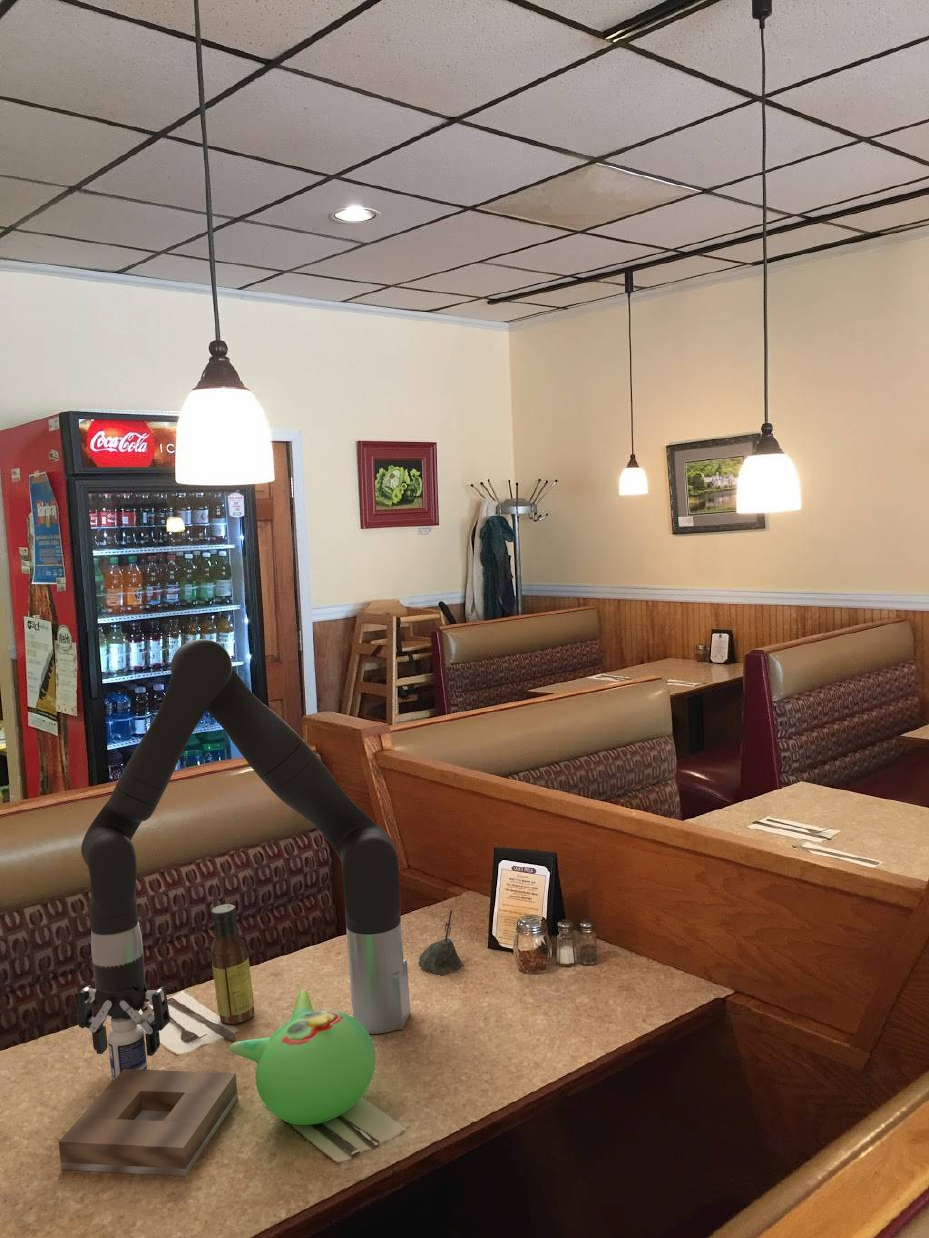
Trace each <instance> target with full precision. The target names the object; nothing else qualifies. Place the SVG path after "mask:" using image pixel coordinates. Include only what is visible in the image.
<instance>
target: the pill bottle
mask: <svg viewBox="0 0 929 1238" xmlns="http://www.w3.org/2000/svg"><path fill="white" fill-rule="evenodd" d="M110 1018H111V1017H110ZM110 1027H111V1030H110V1032H109V1033H108V1035H107V1044H108V1052H109V1053H108V1054H109V1064H110V1071H111V1072H110V1073H111V1078H112V1082H113V1081H114V1079H115V1078H116V1077H117V1076H118V1075H119V1074H120V1073H121V1072H122V1071H123V1069H137V1070H148V1062H147V1061H148V1060H147V1049H146V1039H145V1033H144V1031H145V1030H144V1029H143V1028H142V1027H141V1025H138V1024H136V1023H135V1022H134V1020H133V1019H132V1018H130V1019H124V1018H116V1019H113V1018H111V1019H110Z"/></svg>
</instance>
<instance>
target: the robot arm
mask: <svg viewBox="0 0 929 1238" xmlns="http://www.w3.org/2000/svg"><path fill="white" fill-rule="evenodd" d="M173 654H174V655H172V659H171V663H170V673H171V674H170V675H171V677H170V678H169V679H170V680H169V683H168V686H167V689H166V692H165V695H164V697H163V699H162V702H161V704H160V707H159V709H158V711H157V713H156V715H155V717H154V719H153V721H151V722H152V723H151V724H150V725H149V727H148V728H147V731H146V732H145V734H144V736H143V737H142V738H141V740H140V741H139V743H138V745H137V747H136V748H135V750H134V751H133V753H132V755H131V757H130V758H129V759H128V762H127V764H126V765H125V767H124V769H123V771H122V773H121V774H120V776H119V779H118V780H117V783H116V784H115V787H114V788H113V790H112V793H111V796H110V798H109V799H108V800H107V802H106V803H105V804H104V806H103V807H102V808H101V810H100V811H99V812H98V814H97V815H96V816H95V818H94V819H93V821H92V823H90V825H89V826H88V829H87V830H86V833H85V835H84V837H83V840H82V843H81V848H80V851H81V853H80V854H81V857H82V859H83V861H84V863H85V865H86V866H87V868H88V872H89V880H90V881H89V882H90V890H91V895H90V897H89V908H88V909H89V919H90V920H89V921H90V930H91V931H90V932H91V936H90V937H91V938H90V949H91V958H92V959H91V960H92V968H93V980H94V981H93V982H94V987H95V988H93V987H92V986H91V985H89V984H87V985H86V986H84V987H83V988H82V989H81V990H80V991H79V992H78V993H77V995H76V997H77V998H76V999H77V1013H78V1014H77V1020H78V1021H77V1023H78V1027H79V1028H80V1029H85V1028H87V1029H89V1031H90V1032H91V1036H92V1037H91V1038H92V1046H93V1050H94V1051H96V1054H97V1055H103V1054H105V1053H104V1052H106V1051H107V1049H108V1048H109V1046H108V1035H107V1026H106V1025H104V1024H105V1022H106V1021H107V1019H108V1017H110V1018H113V1019H116V1018H124V1019H130V1018H132V1019H133V1020H134V1022H135V1023H136V1024H138V1025H140V1026H141V1027H142V1028H143V1031H145V1032H146V1033H144V1039H145V1050H146V1056H148V1057H153V1056H154V1055H155V1054H156V1053H157V1051H158V1050H159V1049H160V1046H161V1042H160V1041H161V1040H160V1039H161V1038H160V1031H162V1030H164V1029H165V1027H166V1026H167V1025H168V1024H169V1023H170V1022H171V1018H170V1017H171V1016H170V1010H169V1002H168V996H167V989H166V988H165V986H159V988H158V989H148V988H147V986H146V969H145V957H144V946H143V936H142V932H141V931H142V930H141V927H140V923H139V922H140V921H139V912H138V903H137V897H136V887H137V866H138V865H137V855H136V850H135V846H134V845H133V842H132V839H133V837H134V836H135V833H136V832H137V830H138V829H139V827H140V825H141V824H142V822H145V821H147V820H149V819H150V818H151V816H153V814H154V813H155V810H156V809H157V806H158V804H159V803H160V801H161V799H162V796H163V795H164V793H165V790H166V789H167V787H168V785H169V782H170V780H171V778H172V777H173V774H174V772H175V770H176V768H177V766H178V763H179V761H180V759H181V757H182V755H183V752H184V751H185V748H186V746H187V745H188V742H189V740H190V738H191V736H192V734H193V732H195V730H196V727H197V726H198V724H199V722H200V721H201V719H202V718H203V716H204V714H205V713H206V712H207V713H208V714H209V715H210V716H211V717H212V718H213V719H214V720H215V721H216V722H217V723H218V724H219V725H220V726H221V728H222V729H223V730H224V732H225V733H226V734H227V736H228V737H229V739H230V741H231V742H232V744H234V746H235V748H236V749H237V750H238V751H239V753H240V754H241V755H242V756H241V757H243V759H244V760H245V761H246V762H247V764H248V765H249V766H250V767H251V769H252V770H253V771H254V773H255V774H256V775H257V776H258V777H259V778H260V780H262V782H263V783H264V784H265V785H266V786H267V787H268V788H269V789H270V791H271V792H272V793H274V794H275V795H276V797H277V798H279V799H280V800H281V801H282V802H283V803H284V804H286V805H287V806H288V807H290V808H291V809H292V810H294V811H295V812H297V813H298V814H299V815H300V816H302V817H304V819H306V820H308V821H309V822H310V823H311V824H312V825H314V826H315V827H316V829H318V831H319V832H320V833H321V834H322V835H323V837H324V838H325V839H326V840H327V842H328V843H329V844H330V846H331V847H332V849H333V850H334V851H335V853H336V854H337V856H338V858H339V860H340V861H341V868H342V869H341V870H342V879H343V881H342V882H343V893H344V894H343V895H344V906H345V907H344V916H345V926H346V927H345V928H346V944H347V956H348V971H349V981H350V982H349V983H350V993H351V996H350V997H351V1007H352V1011H351V1015H352V1017H353V1018H355V1019H356V1020H357V1021H359V1022H360V1023H361V1024H362V1025H363V1026H364V1027H365V1029H366V1030H367V1031H368V1033H369V1034H370V1035H371V1034H375V1035H376V1034H377V1035H378V1034H379V1035H380V1034H386V1033H390V1032H393V1031H401V1030H404V1028H405V1026H406V1023H407V1022H408V1019H409V1017H410V1014H411V1002H410V1001H411V1000H410V985H409V984H410V983H409V974H408V962H407V961H408V960H406V959H404V949H403V947H404V946H403V934H402V933H403V932H402V918H401V908H402V897H401V881H400V879H401V877H400V865H399V858H398V853H397V851H396V848H395V845H394V842H393V840H392V838H391V837H390V835H389V834H388V833H387V832H386V831H385V830H384V829H383V828H382V827H381V826H380V825H379V824H377V823H376V822H375V821H374V820H373V819H372V818H370V817H369V816H368V815H367V814H366V813H365V812H364V811H363V810H362V809H361V808H360V807H359V806H358V805H357V804H355V802H354V801H353V800H352V799H351V798H350V797H349V796H348V795H347V794H346V793H345V791H344V790H343V788H342V787H341V785H340V784H339V782H338V781H337V780H336V779H335V777H334V776H333V774H332V772H330V770H329V769H328V768H327V766H326V765H325V763H323V762H322V760H321V759H320V758H319V756H318V755H317V754H316V753H315V752H314V750H312V748H311V747H310V746H309V744H308V743H306V741H305V740H304V739H303V737H301V736H300V734H298V732H296V731H295V729H293V728H292V727H291V726H290V725H289V724H288V723H287V722H286V721H285V720H283V718H281V717H280V716H279V715H278V714H277V713H275V712H274V711H273V710H272V709H270V708H269V707H268V706H267V705H266V704H264V703H263V702H262V701H261V700H260V699H259V698H258V697H257V696H256V695H255V694H254V693H253V692H252V691H251V690H250V689H249V687H248V686H247V685H246V683H245V682H244V681H243V679H242V678H241V677H240V675H239V673H237V671H236V670H235V669H234V667H233V664H232V658H231V656H230V654H229V652H228V651H227V650H226V648H225V647H224V646H223V645H221V644H220V643H218V642H216V641H214V640H212V639H207V638H200V639H194V640H190V641H188V642H186V643H184V644H182V645H181V646H179V648H177V650H176V651H175V653H173ZM94 1000H95V1001H96V1002H97V1003H98V1004H99V1006H100V1007H101V1008H100V1009H99V1011H98V1012H97V1014H96V1016H95V1017H94ZM147 1000H148V1001H149V1003H148V1002H147ZM140 1010H141V1012H142V1013H139V1012H140Z"/></svg>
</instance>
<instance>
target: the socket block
mask: <svg viewBox="0 0 929 1238" xmlns="http://www.w3.org/2000/svg"><path fill="white" fill-rule="evenodd" d="M238 1094H239V1093H238V1084H237V1074H236V1072H216V1071H190V1070H188V1071H186V1070H161V1069H159V1070H158V1069H147V1070H137V1069H123V1071H122V1072H121V1073H120V1074H119V1075H118V1076H117V1077H116V1078H115V1079H114V1081H113V1080H112V1082H111V1083H110V1084H109V1085H108V1086H107V1087H106V1088H105V1089H104V1090H103V1091H102V1093H100V1095H99V1096H98V1097H97V1098H96V1100H95V1101H94V1102H93V1103H92V1104H91V1105H90V1106H89V1107H88V1109H86V1111H84V1113H83V1114H82V1115H81V1116H80V1117H79V1118H78V1120H77V1121H76V1122H75V1123H74V1124H73V1125H72V1126H71V1127H70V1128H69V1129H68V1131H66V1133H65V1134H64V1135H63V1136H62V1137H61V1138H60V1139H59V1140H58V1148H59V1149H58V1150H59V1158H60V1167H61V1170H65V1171H85V1172H87V1171H89V1172H104V1173H106V1172H107V1173H120V1174H121V1173H125V1174H137V1175H138V1174H140V1175H141V1174H142V1175H158V1176H159V1175H160V1176H179V1177H187V1176H188V1175H189V1173H190V1171H191V1170H192V1168H193V1167H194V1165H195V1163H196V1162H197V1160H198V1159H199V1158H200V1156H201V1155H202V1153H203V1151H204V1150H205V1148H206V1147H207V1145H209V1142H210V1141H211V1139H212V1138H213V1137H214V1135H215V1134H216V1132H217V1130H218V1129H219V1128H220V1126H221V1124H222V1123H223V1121H224V1120H225V1119H226V1117H227V1115H228V1114H229V1112H230V1111H231V1110H232V1108H233V1106H234V1105H235V1103H236V1102H237V1101H238V1099H239V1098H238V1097H239V1096H238Z"/></svg>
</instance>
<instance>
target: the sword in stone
mask: <svg viewBox="0 0 929 1238" xmlns="http://www.w3.org/2000/svg"><path fill="white" fill-rule="evenodd" d="M452 912H453V910H452V909H450V910H449V916H448V922H446V923H445V925H444V927H445V928H444V932H445V938H444V939H440V940H438V941H436V942H434V943H431V944H430V945H428V947H426V949H425V950H424V951H423V952H422V953H421V954H420V955H419V960H418V966H419V968H420V967H421V968H420V970H421V969H422V970H423V972H425V971H426V972H425V973H428V972H429V974H431V973H432V975H435V976H436V975H437V976H439V975H440V976H439V977H444V976H447V975H451V974H453V973H456V972H458V971H460V970H461V969H462V968H463V967H464V966H465V964H463V963H462V961H461V959H460V957H459V954H458V953H457V949H456V946H455V944H454V942H453V941H452V939H451V938H448V937H449V936H450V935H451V931H452V930H451V920H452V914H453V913H452ZM462 966H463V967H462ZM461 967H462V968H461ZM422 970H421V971H422Z"/></svg>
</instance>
